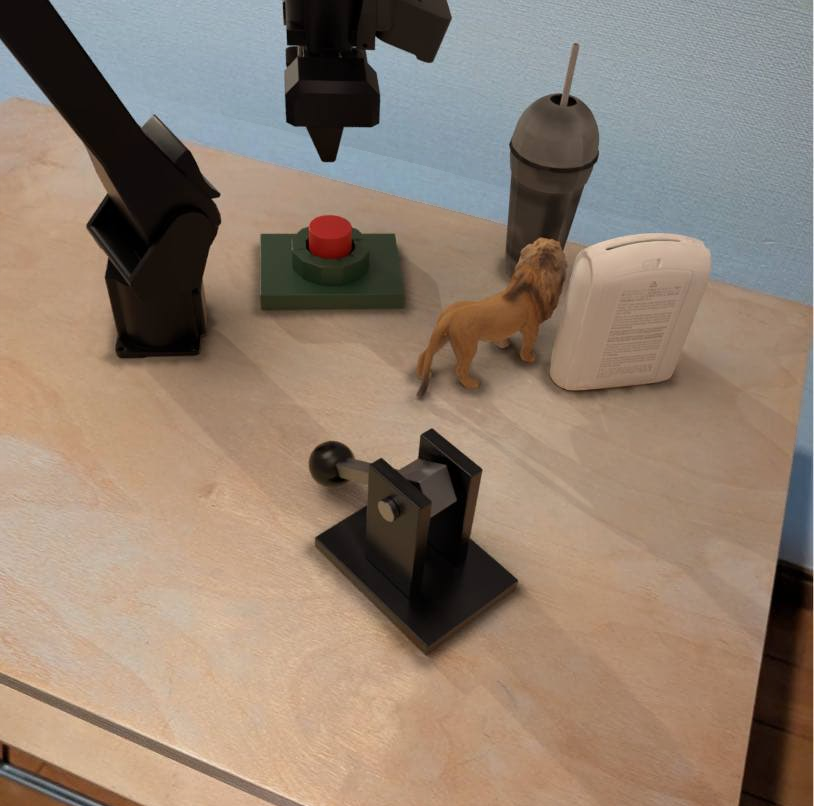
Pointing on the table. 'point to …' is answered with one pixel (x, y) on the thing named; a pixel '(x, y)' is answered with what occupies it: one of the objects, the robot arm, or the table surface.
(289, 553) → the table surface
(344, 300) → the control block
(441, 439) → the bracket
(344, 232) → the button
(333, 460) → the lever
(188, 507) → the table surface
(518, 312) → the lion figurine
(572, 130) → the beverage cup
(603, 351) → the photo printer
